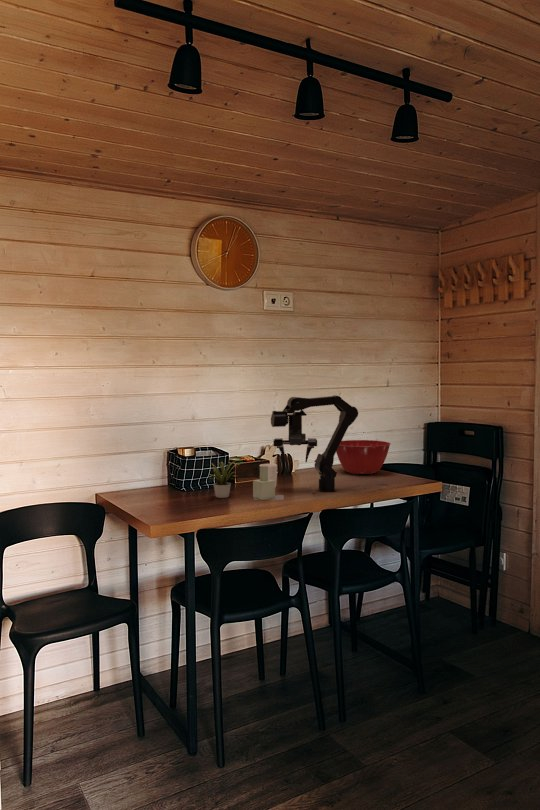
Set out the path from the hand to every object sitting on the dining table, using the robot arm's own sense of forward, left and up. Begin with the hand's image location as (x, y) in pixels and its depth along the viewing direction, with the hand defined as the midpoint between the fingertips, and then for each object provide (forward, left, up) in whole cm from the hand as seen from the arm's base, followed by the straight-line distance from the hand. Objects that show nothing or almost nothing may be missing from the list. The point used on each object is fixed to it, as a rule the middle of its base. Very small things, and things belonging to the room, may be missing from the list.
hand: (295, 462), depth 274 cm
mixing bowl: (-34, -48, -13) cm, 60 cm away
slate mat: (+11, +15, -13) cm, 23 cm away
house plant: (+29, +13, -13) cm, 34 cm away
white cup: (+12, -11, -13) cm, 21 cm away
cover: (+13, +16, -12) cm, 24 cm away
